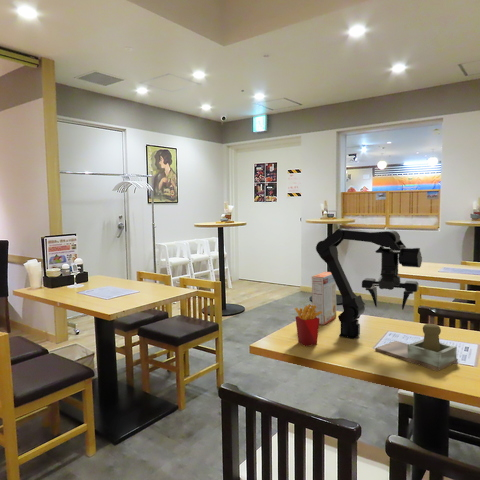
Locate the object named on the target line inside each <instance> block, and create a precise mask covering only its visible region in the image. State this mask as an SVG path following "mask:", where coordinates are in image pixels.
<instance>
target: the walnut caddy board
mask: <svg viewBox="0 0 480 480" xmlns="http://www.w3.org/2000/svg"><path fill="white" fill-rule="evenodd" d="M423 341H424V338H423V339H420V340H417V341H415V342H413V343H405V342H402V341H399V340H394V341H391V342H389V343H385V344H382V345H380V346H377V347H375V348H374V349H375V352H378V353H382V354H384V355H388V356H389V357H390V356H391V357H393V358H394V357H395V358H396V359H400V360H403V361H406V362H409V363H412V364H415V365H418V366H421V367H424V368H427V369H430V370H434V371H436V372H439V371H441V370H442V369H446V368H447V367H449V366H451V365H453V364H455V363H458V361H459V359H458V357H457V346H454V345H451V344H447V343H443V342H440V349H441V351H439V352H435V351H431V350H428V349H424V348H422V347H423Z"/></svg>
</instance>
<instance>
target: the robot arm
mask: <svg viewBox="0 0 480 480" xmlns="http://www.w3.org/2000/svg"><path fill="white" fill-rule="evenodd" d="M344 240H347V241H355V242H356V241H357V242H366V243H372V244H375V245H377V246H379V247H378V248H377V250H374V251H375V253H376V254H381V255H380V256H381V259H380V260H381V268H380V275H379V278H378V280H376V278H369V277H366V278H364V279H363V280H362V281H361V288H363V289H365V291H368V293H370V295H371V298H372V301H373V304H374V306H375V308H378V291H377V287H378V288H379V289H380V290H384V289H385V290H388V291H390V290H394V289H395V288H397V289H404V290H403V296H402V304H401V309H402V310H405V307H406V305H407V301H408V298H409V296H410V294H411V295H412V294H414V293H417V292H418V290H419V282H418V281H415V280H413V281H412V280H406V281H405V282H401V276H400V275H399V265H401V267H404V268H405V267H406V268H418V269H419V268H421V267H422V264H423V263H422V261H423V257H422V252H421V248H420V247H407V246H406V245H405V244H404V243H403V241H402V239H401V236H400V234H399V233H398V231H396V230H383V231H365V230H359V229H357V230H356V229H347V228H338V229H336V230H335V231H334V232H333V233H332V234H330V235H329V236H327V237H326V238H324V239H323V240H320V241H318V242H317V243H316V246H315V250H316V252H317V254H318V256H319V257H320V259H322V260H323V261H324V262H325V263H326V265H327V267H328V270H329V272H331V274H332V276H333V278H334V280H335V283H336V288H337V289H338V291H339V293H340V296H341V302H342V304H341V305H342V309H343V311H342V312H341V313H339V314H338V316H337V318H338V321H339V322H340V333H339V335H338V337H342V338H347V339H348V338H350V339H357V338H358V336H360V334H361V324H360V323H359V319H360V317H361V315H363V314H364V313H365V310H366V308H365V305H366V303H365V302H364V301H363V298H362V295H361V294H359V295H357V294H356V293H354V290H353V289H352V286H351V285H350V282H349V280H348V278H347V276H346V273H345V271H344V269H343V267H342V265H341V262H340V260H339V252H338V246H340V245H341V243H342V242H343V241H344Z"/></svg>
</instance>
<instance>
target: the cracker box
mask: <svg viewBox="0 0 480 480" xmlns="http://www.w3.org/2000/svg"><path fill="white" fill-rule="evenodd" d="M311 296H312V299H311V302H312V303H311V305H313V306H314V305H315V306H316V308H315V312H316V313H317V312H319V311H322V313H321V314H319V315H318V316H316V317H317V318H319V325H322V326H325V325H326V324H329V323H330V322H331V321H333V320H334V319H337V285H336V283H335V280H334V278H333V276H332V274H331V272H330V271H323V272H320V273H318V274H315V275H313V276H311Z"/></svg>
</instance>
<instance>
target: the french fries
mask: <svg viewBox="0 0 480 480" xmlns="http://www.w3.org/2000/svg"><path fill="white" fill-rule="evenodd" d="M315 308H316V306H315V305H314V306H313V305H312V304H311V303H309V304H308V305H305V306H304V308H302V307H300V308H298V307H295V308H294V310H295V311H296V314H297V316H295V322H296V323H295V325H296V333H297V340H298V344H299V345H302V346H303V347H311V346H317V345H318V338H319V337H318V335H319V329H320V328H319V326H320V324H319V318H317V317H316V316H318V315H319V314H321V313H322V311H319V312H317V313H316V312H315Z"/></svg>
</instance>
